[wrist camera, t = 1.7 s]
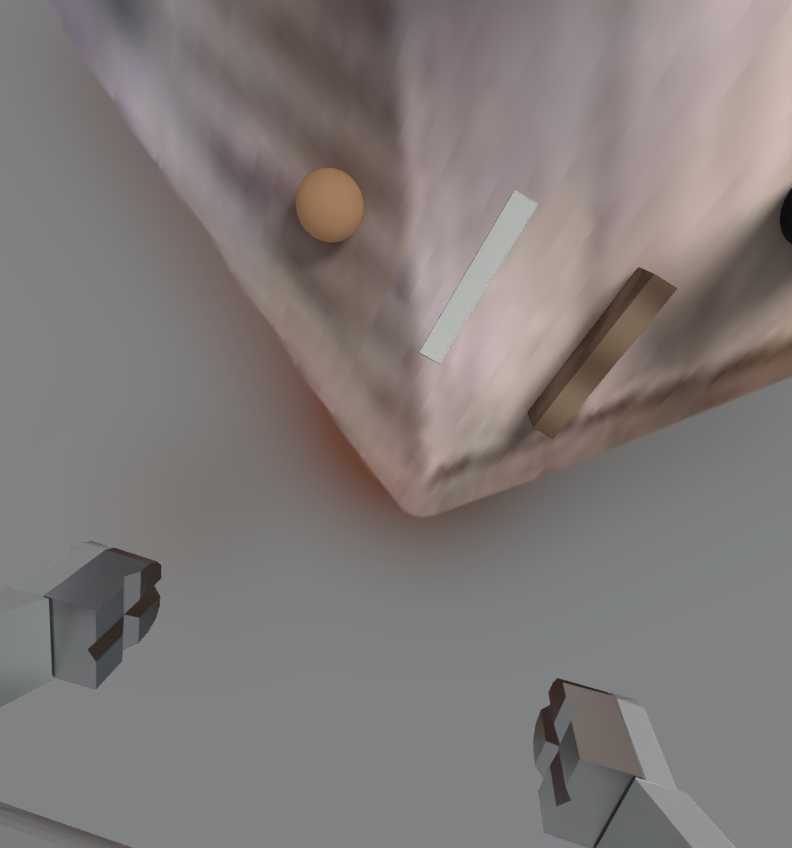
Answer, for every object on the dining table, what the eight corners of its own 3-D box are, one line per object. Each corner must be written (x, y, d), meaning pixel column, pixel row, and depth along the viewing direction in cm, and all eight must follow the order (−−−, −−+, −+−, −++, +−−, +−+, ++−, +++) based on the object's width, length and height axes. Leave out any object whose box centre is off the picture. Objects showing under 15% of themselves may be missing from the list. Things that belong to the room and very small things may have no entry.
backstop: (638, 267, 35) (654, 274, 32) (660, 280, 35) (677, 288, 32) (527, 412, 41) (533, 427, 38) (546, 422, 41) (553, 438, 39)
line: (513, 189, 34) (514, 190, 33) (535, 204, 34) (538, 204, 34) (419, 348, 41) (419, 352, 40) (439, 359, 41) (439, 363, 40)
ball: (321, 155, 34) (302, 151, 30) (380, 190, 34) (369, 190, 30) (297, 219, 36) (276, 223, 32) (352, 250, 37) (339, 259, 32)
